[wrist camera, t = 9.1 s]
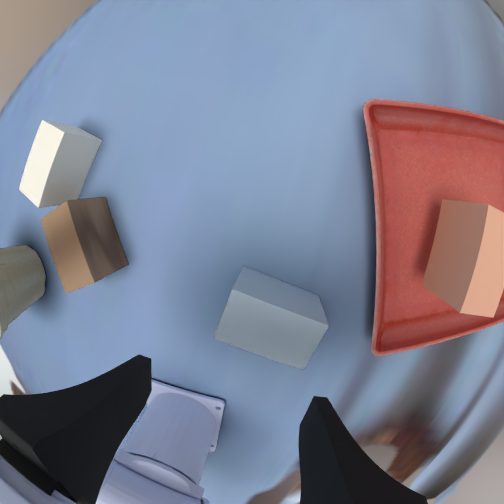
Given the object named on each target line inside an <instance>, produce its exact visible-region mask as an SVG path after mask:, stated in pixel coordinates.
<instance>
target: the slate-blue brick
mask: <svg viewBox="0 0 504 504" xmlns="http://www.w3.org/2000/svg"><path fill="white" fill-rule="evenodd" d="M328 327H329V324H328V321H327V318H326V315H325V313H324V310H323V307H322V304H321V301H320V298H319V296H318V295H316V294H314V293H311V292H309V291H306V290H303V289H301V288H298V287H296V286H293V285H291V284H288V283H286V282H283V281H280V280H278V279H275V278H273V277H270V276H268V275H265V274H263V273H260V272H258V271H255V270H253V269H250V268H248V267H245V266H243V268H242V270H241V272H240V274H239V276H238V278H237V280H236V282H235V284H234V286H233V288H232V291H231V293H230V296H229V298H228V301H227V303H226V306H225V309H224V311H223V314H222V316H221V319H220V322H219V324H218V327H217V329H216V332H215V335H214V337H213V338H215V339H217V340H220V341H222V342H225V343H227V344H230V345H232V346H235V347H238V348H240V349H243V350H246V351H248V352H251V353H254V354H256V355H259V356H262V357H265V358H268V359H271V360H274V361H277V362H280V363H283V364H286V365H289V366H292V367H295V368H298V369H301V370H303V369H304V368H305V366H306V364H307V363H308V361H309V359H310V358H311V356H312V354H313V353H314V351H315V349H316V348H317V346H318V344H319V342H320V341H321V339H322V337H323V335H324V334H325V332H326V330H327V328H328Z"/></svg>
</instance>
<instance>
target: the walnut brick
mask: <svg viewBox="0 0 504 504" xmlns="http://www.w3.org/2000/svg"><path fill="white" fill-rule="evenodd" d="M41 222H42V226H43V229H44V233H45V236H46V239H47V243H48V246H49V249H50V252H51V255H52V258H53V261H54V264H55V266H56V269H57V272H58V274H59V277H60V280H61V282H62V285H63V287H64V290H65V292H66V294H67V293H70V292H72V291H75V290H77V289H80V288H82V287H85V286H87V285H90V284H93V283H95V282H97V281H99V280H101V279H102V278H104V277H106V276H108V275H110V274H112V273H114V272H115V271H117V270H119V269H121V268H123V267H125V266H127V265H129V263H128V260H127V258H126V255H125V253H124V250H123V247H122V244H121V242H120V239H119V236H118V233H117V230H116V228H115V225H114V222H113V219H112V216H111V212H110V209H109V206H108V203H107V200H106V197H98V198H87V199H76V200H67V201H65V202H64V203H63V204H61V205H60V206H58V207H57V208H56V209H54V210H53V211H51V212H50V213H49V214H47V215H46V216H45V217H43V218H42V219H41Z"/></svg>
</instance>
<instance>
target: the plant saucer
mask: <svg viewBox="0 0 504 504" xmlns="http://www.w3.org/2000/svg"><path fill="white" fill-rule="evenodd" d="M363 114H364V120H365V126H366V132H367V138H368V145H369V152H370V160H371V169H372V178H373V190H374V203H375V221H376V289H375V309H374V323H373V332H372V342H371V351H372V353H373V354H374V355H375V356H383V355H389V354H393V353H398V352H403V351H408V350H412V349H416V348H420V347H425V346H428V345H432V344H436V343H440V342H444V341H446V340H450V339H453V338H457V337H460V336H463V335H467V334H470V333H473V332H476V331H479V330H481V329H484V328H487V327H490V326H493V325H495V324H498V323H501V322H503V321H504V289H503V293H502V296H501V298H500V301H499V304H498V307H497V310H496V312H495V315H494V317H486V316H478V315H471V314H464V313H459V312H458V311H457V310H455V309H454V308H453V307H452V306H450V305H449V304H448V303H446V302H445V301H444V300H442V299H441V298H440V297H438V296H437V295H436V294H434V293H433V292H431V291H430V290H429V289H427V288H426V287H425V286H423V285H422V281H423V278H424V275H425V272H426V268H427V265H428V261H429V258H430V254H431V250H432V246H433V242H434V238H435V234H436V229H437V225H438V220H439V215H440V209H441V204H442V199H443V200H453V201H463V202H472V203H480V204H488V205H490V206H492V207H494V208H496V209H498V210H500V211H502V212H504V121H502V120H499V119H495V118H492V117H488V116H485V115H481V114H477V113H472V112H468V111H463V110H458V109H452V108H449V107H441V106H436V105H429V104H421V103H414V102H404V101H393V100H379V99H372V100H368V101H367V102H365V104H364V106H363Z"/></svg>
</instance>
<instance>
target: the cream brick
mask: <svg viewBox="0 0 504 504" xmlns="http://www.w3.org/2000/svg"><path fill="white" fill-rule="evenodd" d="M101 142H102V140H101V139H99V138H97V137H95V136H93V135H91V134H90V133H88V132H86V131H84V130H82V129H80V128H78V127H73V126H69V125H65V124H60V123H55V122H51V121H46V120H42V122H41V125H40V127H39V130H38V132H37V135H36V137H35V140H34V143H33V145H32V148H31V151H30V154H29V157H28V160H27V163H26V166H25V170H24V173H23V176H22V180H21V184H20V188H19V190H20V191H21V192H22V193H23V194H24V195H25V196H27V197H28V198H29V199H30V200H31V201H32V202H33V203H34V204H35V205H36V206H37V207H38V208H41V207H48V206H55V205H61V204H63V203H64V202H65V201H67V200H76V199H78V198H79V196H80V193H81V190H82V187H83V185H84V182H85V180H86V177H87V175H88V172H89V170H90V167H91V165H92V163H93V160H94V158H95V156H96V153H97V151H98V149H99V147H100V145H101Z"/></svg>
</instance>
